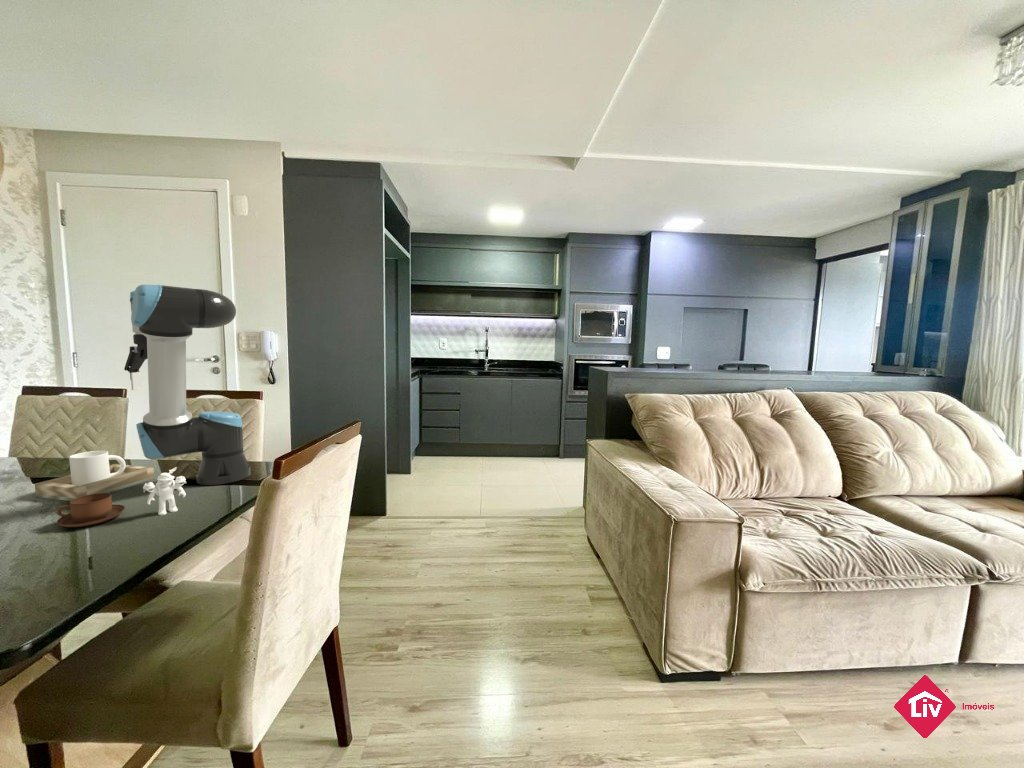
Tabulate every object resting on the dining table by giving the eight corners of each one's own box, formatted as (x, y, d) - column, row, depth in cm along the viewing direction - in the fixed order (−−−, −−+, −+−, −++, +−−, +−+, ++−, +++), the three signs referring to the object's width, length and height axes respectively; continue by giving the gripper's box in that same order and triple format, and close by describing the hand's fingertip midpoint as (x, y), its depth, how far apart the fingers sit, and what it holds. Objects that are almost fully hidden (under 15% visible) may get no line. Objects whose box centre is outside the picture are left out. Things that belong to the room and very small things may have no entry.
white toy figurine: (185, 504, 112) (183, 464, 111) (190, 508, 109) (187, 467, 108) (143, 515, 104) (140, 472, 103) (147, 519, 102) (144, 475, 101)
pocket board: (154, 479, 132) (153, 467, 131) (78, 502, 112) (77, 488, 112) (116, 474, 135) (115, 463, 135) (36, 496, 116) (34, 483, 115)
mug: (126, 476, 131) (123, 447, 130) (127, 483, 125) (125, 452, 124) (73, 485, 122) (69, 453, 121) (71, 492, 116) (68, 459, 115)
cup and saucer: (60, 536, 93) (57, 512, 92) (56, 522, 100) (53, 499, 100) (129, 519, 103) (127, 497, 102) (121, 507, 110) (119, 486, 109)
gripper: (185, 334, 145) (188, 390, 147) (131, 333, 149) (135, 387, 152) (164, 334, 138) (168, 393, 140) (108, 332, 142) (113, 389, 144)
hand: (151, 390), depth 146 cm, fingers open, 13 cm apart
